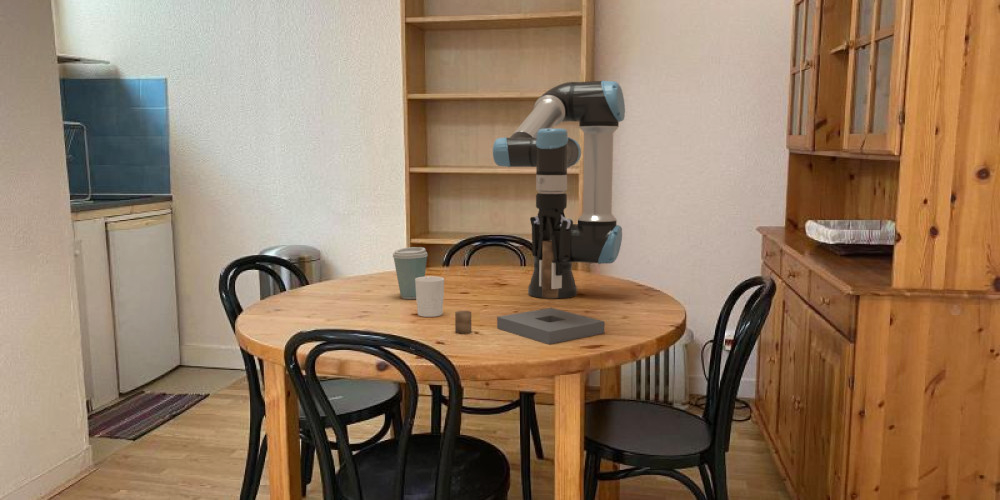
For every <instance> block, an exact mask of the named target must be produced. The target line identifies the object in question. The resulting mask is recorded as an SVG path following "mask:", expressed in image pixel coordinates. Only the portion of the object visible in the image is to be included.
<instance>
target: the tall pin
mask: <svg viewBox="0 0 1000 500" xmlns="http://www.w3.org/2000/svg"><path fill="white" fill-rule="evenodd" d="M552 261H554V255H553V247H552V240H546V241H543V256H542V298H541V299H545V300H546V299H548V300H551V299H553V300H554V299H559V298H558V289H551V279H552Z"/></svg>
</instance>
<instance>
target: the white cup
mask: <svg viewBox="0 0 1000 500" xmlns="http://www.w3.org/2000/svg"><path fill="white" fill-rule="evenodd" d="M415 285H416V299H415V300H416V306H417V315H418V317H423V318H424V317H425V318H434V317H435V318H436V317H440V316H442V315H443V313H444V312H443V311H444V310H443V308H444V297H445V292H444V291H445V278H444V277H442V276H436V275H435V276H433V275H432V276H430V275H427V276H426V275H425V277H418V278H416V279H415Z"/></svg>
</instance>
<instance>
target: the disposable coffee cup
mask: <svg viewBox="0 0 1000 500" xmlns="http://www.w3.org/2000/svg"><path fill="white" fill-rule="evenodd" d="M428 256H429V255H428V252H427V249H426V248H425V247H421V246H419V247H418V246H416V247H415V246H412V247H404V248H400V249H396V250H394V252H393V253H392V258H393V261H394V266H395V271H396V277H397V278H396V279H397V283H398V288H399V294H400V296H401V299H403V300H417V299H416V285H415V279H416V278H418V277H425V276H426V269H427V259H428Z"/></svg>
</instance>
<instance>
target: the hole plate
mask: <svg viewBox="0 0 1000 500" xmlns="http://www.w3.org/2000/svg"><path fill="white" fill-rule="evenodd" d="M496 322H497V324H496V326H497V327H496V328H497V329H498V330H502V331H504V332H508V333H511V334H515V335H518V336H519V337H523V338H527V339H530V340H534V341H537V342H540V343H542V344H543V343H544V344H547V345H552V344H557V343H562V342H567V341H572V340H573V341H574V340H578V339H581V338H582V339H583V338H587V337H588V338H589V337H593V336H597V335H604V334H605V324H606V323H605V322H606V321H605V320H600V319H597V318H593V317H589V316H585V315H582V314H581V315H580V314H577V313H573V312H568V311H565V310H561V309H558V308H557V309H556V308H554V307H549V308H542V309H535V310H529V311H523V312H518V313H512V314H505V315H500V316H497V318H496Z"/></svg>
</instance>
